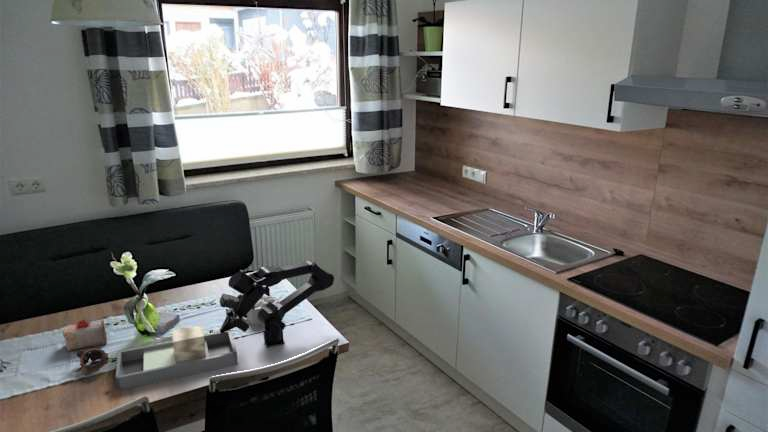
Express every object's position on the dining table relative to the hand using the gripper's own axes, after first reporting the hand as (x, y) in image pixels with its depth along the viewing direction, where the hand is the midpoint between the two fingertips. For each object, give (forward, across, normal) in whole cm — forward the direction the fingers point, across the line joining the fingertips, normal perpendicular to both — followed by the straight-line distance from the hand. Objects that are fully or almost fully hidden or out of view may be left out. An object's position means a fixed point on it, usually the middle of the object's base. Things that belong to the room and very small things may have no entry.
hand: (220, 332), depth 183 cm
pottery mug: (+36, -10, -23) cm, 44 cm away
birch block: (+12, 0, -3) cm, 13 cm away
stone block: (+21, -31, -7) cm, 38 cm away
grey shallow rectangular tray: (+17, 0, -4) cm, 17 cm away
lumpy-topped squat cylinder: (-7, -22, +20) cm, 30 cm away
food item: (+39, -27, -25) cm, 54 cm away
